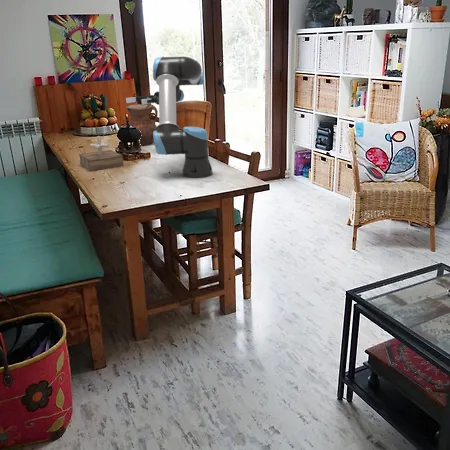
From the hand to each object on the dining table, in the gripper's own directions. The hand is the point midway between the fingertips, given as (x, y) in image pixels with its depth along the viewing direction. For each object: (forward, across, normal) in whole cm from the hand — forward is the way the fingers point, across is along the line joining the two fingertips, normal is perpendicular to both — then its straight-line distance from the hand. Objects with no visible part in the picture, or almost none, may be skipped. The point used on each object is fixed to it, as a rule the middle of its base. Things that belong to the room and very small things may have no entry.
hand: (134, 101), depth 262 cm
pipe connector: (+26, +1, -26) cm, 37 cm away
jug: (-27, +30, -32) cm, 52 cm away
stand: (+26, +1, -32) cm, 41 cm away
